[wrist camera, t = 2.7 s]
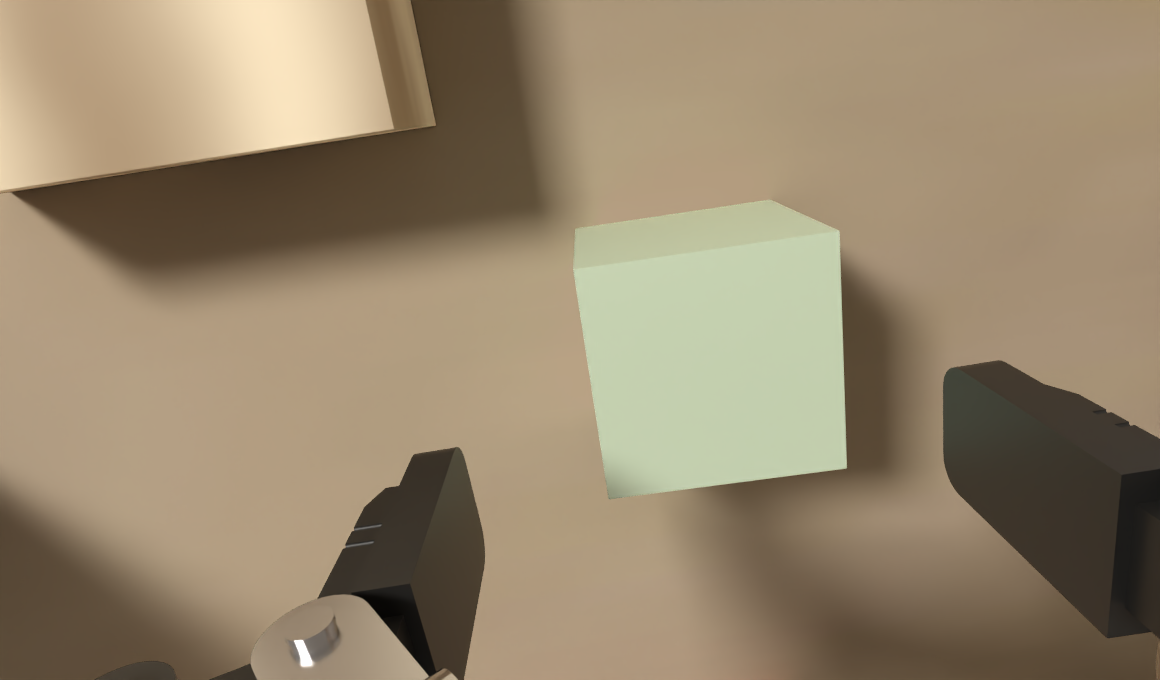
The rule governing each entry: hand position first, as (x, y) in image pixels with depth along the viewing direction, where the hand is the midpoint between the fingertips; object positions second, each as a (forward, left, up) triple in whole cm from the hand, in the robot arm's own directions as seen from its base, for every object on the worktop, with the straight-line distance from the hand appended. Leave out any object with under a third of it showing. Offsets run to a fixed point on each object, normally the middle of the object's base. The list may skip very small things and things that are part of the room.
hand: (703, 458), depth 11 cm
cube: (-1, 0, -8) cm, 8 cm away
